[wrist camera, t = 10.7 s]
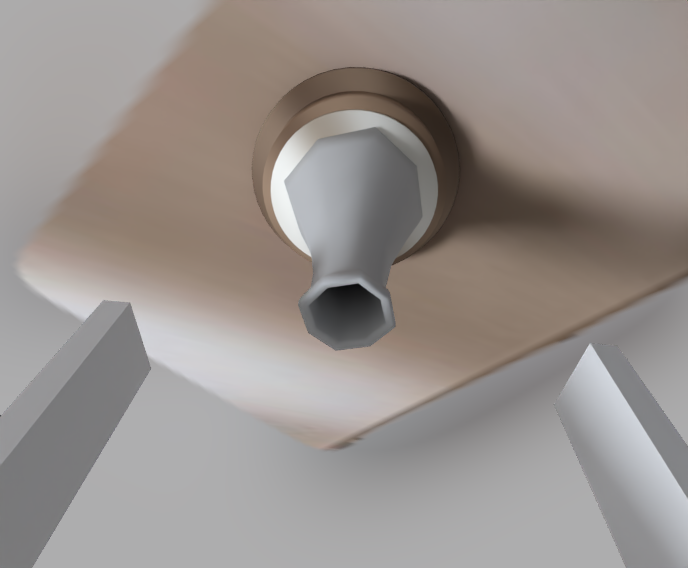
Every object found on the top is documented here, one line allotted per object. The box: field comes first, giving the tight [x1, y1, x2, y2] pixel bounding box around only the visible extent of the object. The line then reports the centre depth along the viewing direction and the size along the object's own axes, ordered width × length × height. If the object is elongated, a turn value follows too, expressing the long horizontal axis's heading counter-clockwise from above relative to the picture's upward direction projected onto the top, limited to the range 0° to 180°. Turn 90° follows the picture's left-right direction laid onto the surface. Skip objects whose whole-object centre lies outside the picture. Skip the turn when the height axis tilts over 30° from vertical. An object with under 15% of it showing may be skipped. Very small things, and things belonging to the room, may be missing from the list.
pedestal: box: [252, 67, 460, 266], centre depth 23 cm, size 12×12×3 cm
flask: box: [284, 127, 423, 350], centre depth 18 cm, size 7×7×10 cm
